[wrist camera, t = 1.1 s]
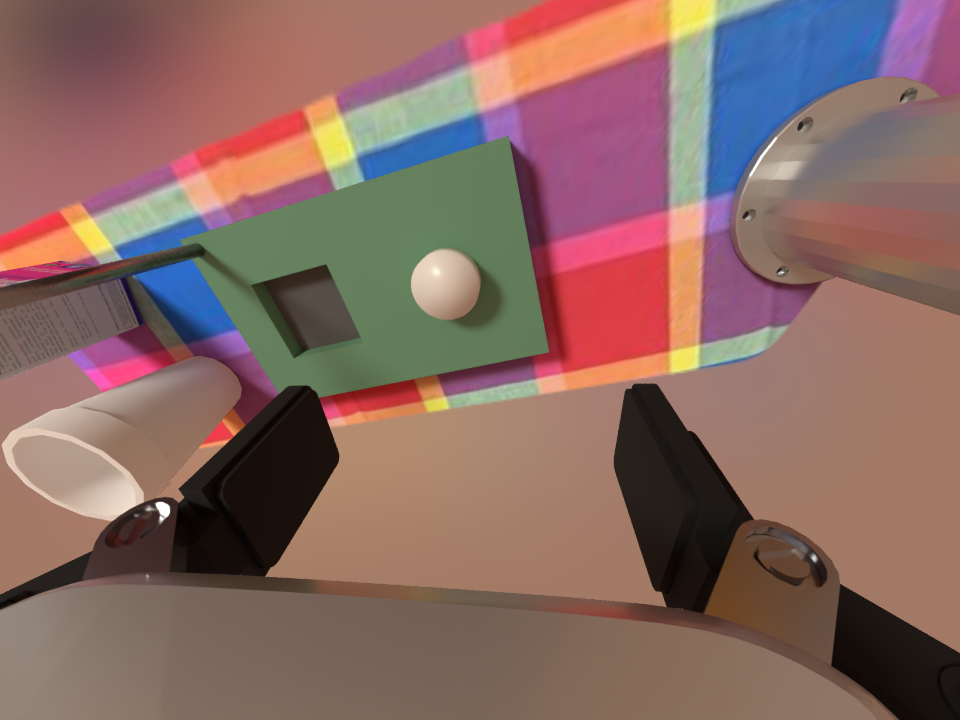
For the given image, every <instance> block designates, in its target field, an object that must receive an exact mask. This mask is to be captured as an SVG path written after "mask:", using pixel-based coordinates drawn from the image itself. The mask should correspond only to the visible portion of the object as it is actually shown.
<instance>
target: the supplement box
mask: <svg viewBox="0 0 960 720" xmlns="http://www.w3.org/2000/svg"><path fill="white" fill-rule="evenodd" d="M92 266H95V265H86V264H78V263H70V262H64V261H58V262H52V263H47V264H41V265H35V266H30V267H24V268H18V269H12V270H7V271H1V272H0V287H4V286H9V285H13V284H17V283H22V282H26V281H31V280H35V279H40V278H44V277H48V276H53V275H57V274H62V273H66V272H70V271H75V270H79V269H84V268H88V267H92ZM142 325H145V323H144V320H143V317H142V315H141V313H140V310H139V308H138V306H137V304H136V301H135V299H134V297H133V294H132V292H131V289H130V287H129V284H128V282H127V279H126V277H125V278H121V279H118V280H114V281H110V282H107V283H103V284H100V285H96V286H92V287H89V288H85V289H81V290H78V291H74V292H70V293H67V294H63V295H60V296H56V297H52V298H49V299H45V300H41V301H38V302H34V303H30V304H27V305H23V306H20V307H16V308H12V309H9V310H5V311H1V312H0V380H3V379H5V378H8V377H11V376H13V375H16V374H18V373H21V372H23V371H26V370H28V369H31V368H33V367H36V366H39V365H41V364H44V363H47V362H49V361H52V360H54V359H57V358H59V357H62V356H65V355H67V354H70V353H72V352H75V351H77V350H80V349H82V348H85V347H87V346H90V345H93V344H95V343H98V342H100V341H103V340H105V339H108V338H110V337H113V336H116V335H118V334H121V333H123V332H126V331H129V330H131V329H134V328H137V327H139V326H142Z"/></svg>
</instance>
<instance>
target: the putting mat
mask: <svg viewBox="0 0 960 720" xmlns="http://www.w3.org/2000/svg"><path fill="white" fill-rule="evenodd" d="M180 241H181V243H182V244H183V246H181V247H176V248H172V249H167V250H163V251H159V252H154V253H150V254H145V255H141V256H137V257H132V258H128V259H123V260H119V261H114V262H110V263H106V264H101V265H97V266H92V267H88V268H84V269H79V270H75V271H70V272H66V273H62V274H57V275H53V276H48V277H44V278H40V279H35V280H31V281H26V282H22V283H17V284H13V285H9V286H4V287H0V312H1V311H5V310H9V309H12V308H16V307H20V306H23V305H27V304H30V303H34V302H38V301H41V300H45V299H49V298H52V297H56V296H60V295H63V294H67V293H70V292H74V291H78V290H81V289H85V288H89V287H92V286H96V285H100V284H103V283H107V282H110V281H114V280H118V279H121V278H125V277H129V276H132V275H136V274H139V273H143V272H147V271H150V270H154V269H158V268H161V267H165V266H169V265H172V264H176V263H179V262H183V261H187V260H190V259H192V260H193V261H194V263H195V264H196V266H197V267H198V269H199V270H200V272H201V274H202V275H203V277H204V278H205V280H206V281H207V283H208V284H209V286H210V287H211V289H212V291H213V292H214V294H215V295H216V297H217V298H218V300H219V301H220V303H221V304H222V306H223V308H224V309H225V311H226V312H227V314H228V315H229V317H230V318H231V320H232V321H233V323H234V325H235V326H236V328H237V329H238V331H239V332H240V334H241V335H242V337H243V338H244V340H245V342H246V343H247V345H248V346H249V348H250V349H251V351H252V352H253V354H254V355H255V357H256V359H257V360H258V362H259V363H260V365H261V366H262V368H263V369H264V371H265V372H266V374H267V375H268V377H269V379H270V380H271V382H272V383H273V385H274V386H275V388H276V389H277V391H278V392H279V394H280V393H281V392H282V391H283V390H284V389H285V388H286V387H288V386H296V385H307V386H310V387H311V388H312V390H315V391H316V392H317V394H318V397H319V398H320V397H325V396H330V395H335V394H340V393H346V392H351V391H356V390H361V389H366V388H371V387H376V386H381V385H386V384H391V383H396V382H401V381H406V380H411V379H417V378H422V377H427V376H432V375H437V374H442V373H447V372H452V371H457V370H462V369H467V368H472V367H477V366H483V365H488V364H493V363H498V362H503V361H508V360H513V359H518V358H523V357H528V356H533V355H538V354H543V353H548V352H549V349H548V343H547V338H546V333H545V327H544V322H543V317H542V311H541V306H540V301H539V295H538V290H537V285H536V279H535V274H534V269H533V263H532V258H531V253H530V247H529V242H528V237H527V231H526V226H525V221H524V215H523V210H522V204H521V199H520V194H519V188H518V183H517V178H516V172H515V167H514V162H513V156H512V151H511V146H510V140H509V136H506V137H503V138H500V139H497V140H494V141H491V142H487V143H484V144H481V145H478V146H475V147H472V148H469V149H465V150H462V151H459V152H456V153H453V154H450V155H447V156H443V157H440V158H437V159H434V160H431V161H428V162H424V163H421V164H418V165H415V166H412V167H409V168H406V169H402V170H399V171H396V172H393V173H390V174H387V175H383V176H380V177H377V178H374V179H371V180H368V181H365V182H361V183H358V184H355V185H352V186H349V187H346V188H343V189H339V190H336V191H333V192H330V193H327V194H324V195H320V196H317V197H314V198H311V199H308V200H305V201H302V202H298V203H295V204H292V205H289V206H286V207H283V208H279V209H276V210H273V211H270V212H267V213H264V214H261V215H257V216H254V217H251V218H248V219H245V220H242V221H239V222H235V223H232V224H229V225H226V226H223V227H220V228H216V229H213V230H210V231H207V232H204V233H201V234H198V235H194V236H191V237H188V238H185V239H182V240H180ZM442 247H453V248H457V249H460V250H462V251H464V252H465V253H467V254H468V255H469V256H470V257H471V258H472V259H473V260H474V261H475V263H476V264H477V266H478V268H479V271H480V275H481V287H480V291H479V295H478V299H477V301H476V303H475V305H474V307H473V308H472V309H471V310H470V311H469V312H468V313H467V314H466V315H464V316H462V317H460V318H457V319H452V320H442V319H438V318H435V317H433V316H430V315H429V314H427V313H426V312H425V311H423V310H422V309H421V308H420V307H419V305H418V304H417V302H416V301H415V299H414V297H413V294H412V289H411V278H412V274H413V271H414V269H415V268H416V266H417V265H418V263H419V262H420V261H421V260H422V259H423V258H424V257H425V256H426V255H427V254H428V253H430V252H431V251H433V250H435V249H438V248H442Z"/></svg>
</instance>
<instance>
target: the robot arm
mask: <svg viewBox="0 0 960 720" xmlns="http://www.w3.org/2000/svg"><path fill="white" fill-rule="evenodd" d="M797 127H798V128H797ZM744 213H745V214H744ZM743 214H744V216H743ZM729 223H730V236H731V240H732V243H733V246H734V249H735V252H736V253H737V255H738V256H739V258H740V260H741V261H742V263H744V264H745V265H746V266H747V267H748V268H749V269H750V270H751V271H753V272H755V273H757V274H759V275H761V276H762V277H764V278H767V279H770V280H772V281H775V282H779V283H787V284H811V283H816V282H821V281H826V280H829V279H832V278H835V277H839V278H842V279H846V280H849V281H852V282H855V283H858V284H862V285H865V286H868V287H871V288H874V289H878V290H881V291H884V292H887V293H891V294H894V295H897V296H900V297H903V298H907V299H910V300H913V301H916V302H919V303H922V304H926V305H929V306H932V307H935V308H938V309H941V310H945V311H948V312H951V313H954V314H958V315H960V93H959V94H954V95H948V96H942V97H941V96H940V95H939V94H938V92H936V91H935V90H933V89H932V88H931V87H929V86H928V85H926V84H925V83H923V82H920V81H916V80H913V79H909V78H906V77H880V78H875V79H870V80H864V81H860V82H856V83H853V84H850V85H846V86H843V87H840V88H837V89H835V90H833V91H830V92H828V93H826V94H824V95H822V96H820V97H818V98H816V99H814V100H813V101H811V102H810V103H808V104H807V105H805V106H804V107H802V108H801V109H799V110H798V111H796V112H795V113H794V114H792V115H791V116H790V117H789V118H788V119H787V120H786V121H784V122H783V123H782V124H781V125H780V126H779V127H778V128H776V129H775V130H774V132H773V133H772V134H771V135H770V136H769V137H768V138H767V140H766V141H765V142H764V143H763V144H762V145H761V146H760V147H759V149H758V150H757V152H756V153H755V155H754V156H753V158H752V159H751V161H750V162H749V164H748V165H747V167H746V169H745V171H744V173H743V175H742V177H741V179H740V181H739V183H738V185H737V188H736V192H735V195H734V198H733V201H732V205H731V213H730V221H729ZM338 461H339V452H338V449H337V446H336V443H335V441H334V438H333V435H332V433H331V430H330V427H329V424H328V422H327V419H326V416H325V413H324V411H323V408H322V405H321V402H320V400H319V397H318V394H317V392H316V391H315V390H312V388H311V387H310V386H307V385H296V386H288V387H286V388H285V389H284V390H283V391H282V392H281V393H280V394H279V395H278V396H277V397H276V398H274V399H273V400H272V401H271V402H270V403H269V404H268V405H267V406H266V407H265V408H264V409H263V410H262V411H261V412H260V413H259V414H258V415H256V416H255V417H254V418H253V419H252V420H251V421H250V422H249V423H248V424H247V425H246V426H245V427H244V428H243V429H242V430H241V431H239V432H238V433H237V434H236V435H235V436H234V437H233V438H232V439H231V440H230V441H229V442H228V443H227V444H226V445H225V446H224V447H223V448H221V449H220V450H219V451H218V452H217V453H216V454H215V455H214V456H213V457H212V458H211V459H210V460H209V461H208V462H207V463H206V464H204V465H203V467H201V468H200V469H199V470H198V471H197V472H196V473H195V474H194V475H193V476H192V477H191V478H190V479H189V480H188V481H186V482H185V483H184V484H183V485H182V486H181V487H180V488H179V490H180V492H181V493H182V495H183V496H184V497H185V498H184V499H183V500H182V501H181V502H180V503H178V502H177V501H176V500H175V499H174V498H170V497H161V498H155V499H152V500H149V501H146V502H143V503H141V504H139V505H137V506H135V507H133V508H131V509H129V510H128V511H126V512H124V513H123V514H121V515H120V516H118V517H117V518H116V519H115V520H113V521H112V522H111V523H110V524H109V525H108V526H107V527H106V528H105V529H104V530H103V531H102V532H101V533H100V535H99V537H98V538H97V540H96V542H95V545H94V548H93V550H92V551H91V552H89V553H87V554H85V555H83V556H81V557H79V558H77V559H74V560H72V561H70V562H68V563H66V564H64V565H62V566H60V567H57V568H56V569H53V570H51V571H49V572H47V573H45V574H43V575H41V576H39V577H36V578H34V579H32V580H30V581H28V582H26V583H24V584H22V585H20V586H17V587H15V588H13V589H11V590H9V591H7V592H5V593H3V594H1V595H0V720H960V653H959V652H957V651H955V650H954V649H952V648H950V647H948V646H947V645H945V644H943V643H941V642H940V641H938V640H936V639H934V638H933V637H931V636H929V635H928V634H926V633H924V632H922V631H921V630H919V629H917V628H915V627H914V626H912V625H910V624H909V623H907V622H905V621H903V620H902V619H900V618H898V617H896V616H895V615H893V614H891V613H890V612H888V611H886V610H884V609H883V608H881V607H879V606H877V605H876V604H874V603H872V602H871V601H869V600H867V599H865V598H864V597H862V596H860V595H858V594H857V593H855V592H853V591H851V590H850V589H848V588H846V587H844V586H843V585H841V584H840V580H839V573H838V571H837V569H836V568H835V566H834V564H833V562H832V560H831V559H830V558H829V557H828V556H827V555H826V554H825V552H824V551H823V550H822V549H821V548H820V547H818V546H817V545H816V544H815V543H814V542H812V541H811V540H810V539H809V538H807V537H806V536H804V535H802V534H801V533H799V532H797V531H796V530H794V529H792V528H790V527H787V526H785V525H782V524H780V523H777V522H773V521H768V520H754V519H753V517H752V516H751V514H750V513H749V512H748V510H747V509H746V507H745V506H744V504H743V503H742V501H741V500H740V498H739V497H738V495H737V494H736V492H735V491H734V489H733V488H732V486H731V485H730V483H729V482H728V481H727V479H726V478H725V476H724V475H723V473H722V472H721V470H720V469H719V467H718V466H717V464H716V463H715V461H714V460H713V458H712V457H711V456H710V454H709V452H708V451H707V450H706V448H705V446H704V445H703V444H702V442H701V441H700V439H699V438H698V437H697V435H696V434H695V433H694V432H692V431H687V429H686V428H685V426H684V425H683V423H682V422H681V420H680V418H679V417H678V415H677V414H676V412H675V411H674V409H673V408H672V406H671V405H670V403H669V402H668V400H667V399H666V397H665V395H664V394H663V392H662V391H661V390H660V388H659V386H658V385H657V384H634V385H633V386H632V389H626V391H625V395H624V400H623V407H622V413H621V419H620V425H619V430H618V436H617V442H616V448H615V454H614V469H615V472H616V476H617V479H618V482H619V485H620V488H621V491H622V494H623V497H624V500H625V503H626V506H627V509H628V513H629V516H630V519H631V522H632V525H633V528H634V531H635V534H636V537H637V540H638V543H639V547H640V550H641V553H642V556H643V559H644V562H645V565H646V568H647V571H648V574H649V577H650V580H651V583H652V586H653V588H654V590H655V591H659V592H662V594H663V597H664V600H665V603H666V606H667V607H662V606H654V605H647V604H638V603H627V602H615V601H605V600H604V601H603V600H594V599H582V598H571V597H559V596H544V595H531V594H516V593H503V592H489V591H475V590H462V589H447V588H433V587H418V586H403V585H388V584H373V583H358V582H342V581H327V580H310V579H294V578H278V577H277V578H276V577H265V576H266V574H267V572H268V571H269V569H270V567H273V566H274V565H276V563H277V562H278V561H279V559H280V558H281V556H282V554H283V553H284V551H285V549H286V548H287V546H288V545H289V543H290V541H291V540H292V538H293V536H294V535H295V533H296V531H297V530H298V528H299V527H300V525H301V523H302V522H303V520H304V518H305V517H306V515H307V514H308V512H309V510H310V508H311V507H312V505H313V504H314V502H315V500H316V499H317V497H318V495H319V494H320V492H321V490H322V489H323V487H324V486H325V484H326V482H327V481H328V479H329V477H330V476H331V474H332V473H333V471H334V469H335V468H336V466H337V464H338ZM240 574H241V575H240ZM676 608H678V609H676ZM683 609H684V610H683Z"/></svg>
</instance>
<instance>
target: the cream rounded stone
mask: <svg viewBox="0 0 960 720" xmlns="http://www.w3.org/2000/svg"><path fill="white" fill-rule="evenodd" d="M480 287H481V275H480V271H479V268H478V266H477V264H476V263H475V261H474V260H473V259H472V258H471V257H470V256H469V255H468V254H467V253H465V252H464V251H462V250H460V249H457V248H453V247H442V248H438V249H435V250H433V251H431V252H430V253H428V254H427V255H426V256H425V257H424V258H423V259H422V260H421V261H420V262H419V263H418V265H417V266H416V268H415V269H414V271H413V274H412V278H411V289H412V294H413V297H414V299H415V301H416V302H417V304H418V305H419V307H420V308H421V309H422V310H423V311H425V312H426V313H427V314H429V315H430V316H433V317H435V318H438V319H442V320H452V319H457V318H460V317H462V316H464V315H466V314H467V313H468V312H469V311H470V310H471V309H472V308H473V307H474V305H475V303H476V301H477V299H478V295H479V291H480Z"/></svg>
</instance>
